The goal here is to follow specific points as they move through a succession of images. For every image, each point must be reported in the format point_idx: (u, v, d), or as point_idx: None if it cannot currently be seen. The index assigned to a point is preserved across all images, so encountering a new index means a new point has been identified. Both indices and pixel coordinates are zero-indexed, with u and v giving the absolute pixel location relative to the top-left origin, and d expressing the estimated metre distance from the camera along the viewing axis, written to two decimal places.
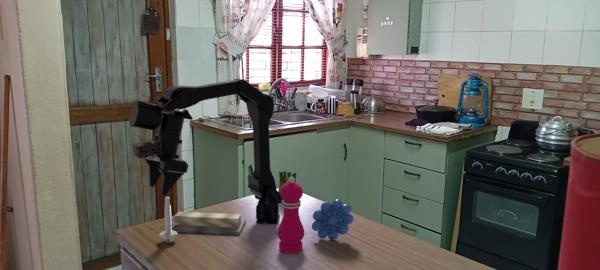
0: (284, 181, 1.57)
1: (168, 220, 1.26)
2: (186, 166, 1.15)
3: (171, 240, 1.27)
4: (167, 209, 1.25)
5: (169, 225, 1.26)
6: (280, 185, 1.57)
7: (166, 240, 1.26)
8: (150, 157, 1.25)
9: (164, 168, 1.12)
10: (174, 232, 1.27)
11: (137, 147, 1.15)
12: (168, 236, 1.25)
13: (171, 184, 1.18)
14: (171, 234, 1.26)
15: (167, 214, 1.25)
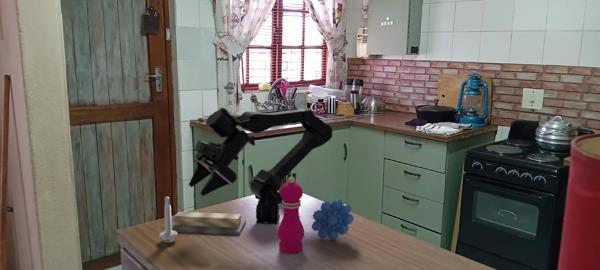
0: (284, 181, 1.57)
1: (168, 220, 1.26)
2: (235, 178, 1.25)
3: (171, 240, 1.27)
4: (167, 209, 1.25)
5: (169, 225, 1.26)
6: None
7: (166, 240, 1.26)
8: (202, 161, 1.35)
9: (218, 169, 1.22)
10: (174, 232, 1.27)
11: (203, 143, 1.26)
12: (168, 236, 1.25)
13: (213, 188, 1.26)
14: (171, 234, 1.26)
15: (167, 214, 1.25)
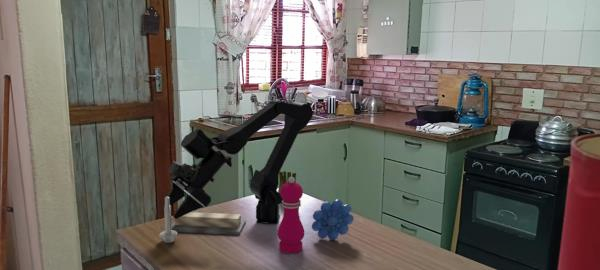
0: (284, 181, 1.57)
1: (168, 220, 1.26)
2: (209, 201, 1.22)
3: (171, 240, 1.27)
4: (167, 209, 1.25)
5: (169, 225, 1.26)
6: (280, 185, 1.57)
7: (166, 240, 1.26)
8: (177, 182, 1.32)
9: (191, 193, 1.19)
10: (174, 232, 1.27)
11: (177, 165, 1.23)
12: (168, 236, 1.25)
13: (186, 211, 1.23)
14: (171, 234, 1.26)
15: (167, 214, 1.25)
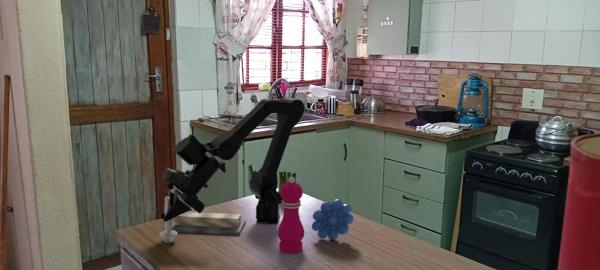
0: (284, 181, 1.57)
1: None
2: (202, 208, 1.21)
3: (171, 240, 1.27)
4: (167, 209, 1.25)
5: (169, 225, 1.26)
6: (280, 185, 1.57)
7: (166, 240, 1.26)
8: (175, 191, 1.28)
9: (184, 200, 1.19)
10: (174, 232, 1.27)
11: (170, 172, 1.22)
12: (168, 236, 1.25)
13: (176, 214, 1.25)
14: (171, 234, 1.26)
15: None
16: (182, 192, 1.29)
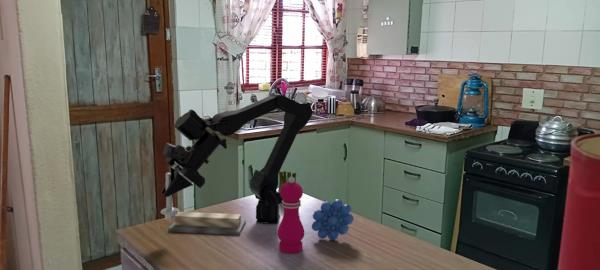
0: (284, 181, 1.57)
1: (169, 196, 1.25)
2: (203, 182, 1.21)
3: (172, 216, 1.26)
4: (168, 185, 1.25)
5: (170, 201, 1.26)
6: (280, 185, 1.57)
7: (167, 217, 1.26)
8: (176, 167, 1.28)
9: (184, 174, 1.18)
10: (175, 209, 1.27)
11: (170, 146, 1.22)
12: (169, 212, 1.25)
13: (177, 189, 1.25)
14: (172, 210, 1.26)
15: None
16: None
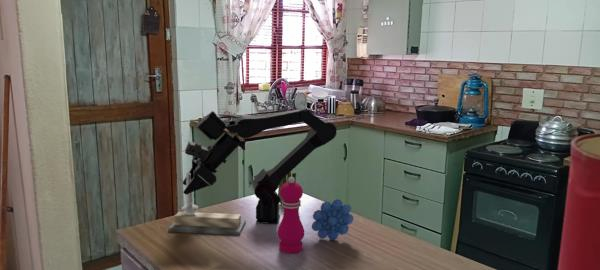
0: (284, 181, 1.57)
1: (189, 194, 1.35)
2: (214, 180, 1.28)
3: (191, 213, 1.36)
4: None
5: (190, 199, 1.36)
6: (280, 185, 1.57)
7: (187, 213, 1.36)
8: (197, 161, 1.41)
9: (196, 171, 1.27)
10: (195, 206, 1.37)
11: (189, 144, 1.31)
12: (188, 209, 1.35)
13: (195, 188, 1.31)
14: (191, 208, 1.36)
15: None
16: None
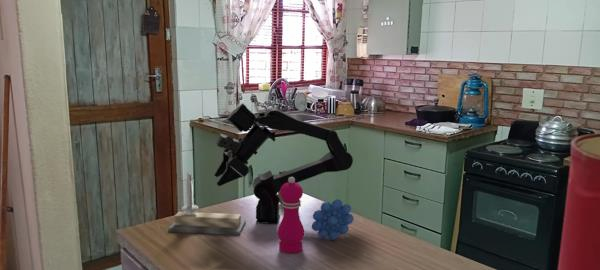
0: None
1: (189, 194, 1.35)
2: (246, 171, 1.30)
3: (192, 213, 1.36)
4: (188, 184, 1.35)
5: (190, 199, 1.36)
6: None
7: (187, 213, 1.36)
8: (228, 153, 1.43)
9: (229, 162, 1.29)
10: (195, 206, 1.37)
11: (221, 137, 1.34)
12: (188, 209, 1.35)
13: (228, 180, 1.33)
14: (192, 208, 1.36)
15: (188, 189, 1.35)
16: None
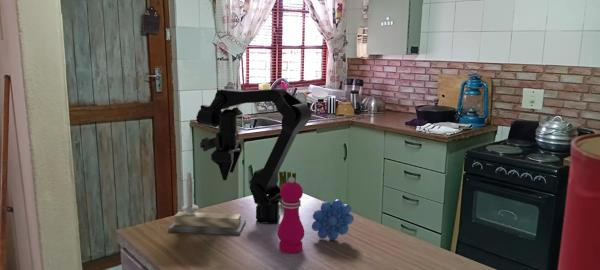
0: (284, 181, 1.57)
1: (189, 194, 1.35)
2: (228, 156, 1.38)
3: (192, 213, 1.36)
4: (188, 184, 1.35)
5: (190, 199, 1.36)
6: (280, 185, 1.57)
7: (187, 213, 1.36)
8: None
9: (211, 159, 1.39)
10: (195, 206, 1.37)
11: (200, 143, 1.45)
12: (188, 209, 1.35)
13: (227, 171, 1.43)
14: (192, 208, 1.36)
15: (188, 189, 1.35)
16: None
